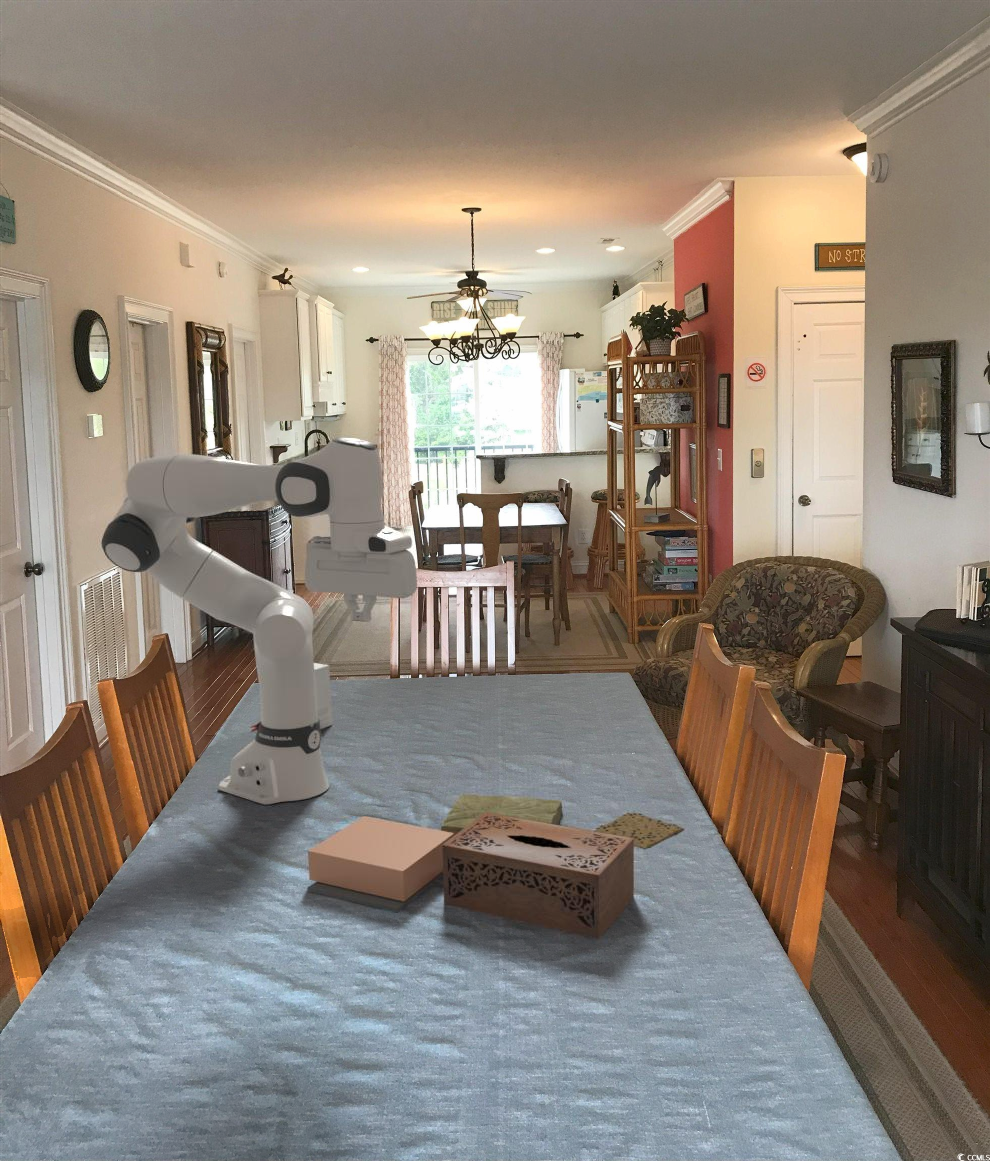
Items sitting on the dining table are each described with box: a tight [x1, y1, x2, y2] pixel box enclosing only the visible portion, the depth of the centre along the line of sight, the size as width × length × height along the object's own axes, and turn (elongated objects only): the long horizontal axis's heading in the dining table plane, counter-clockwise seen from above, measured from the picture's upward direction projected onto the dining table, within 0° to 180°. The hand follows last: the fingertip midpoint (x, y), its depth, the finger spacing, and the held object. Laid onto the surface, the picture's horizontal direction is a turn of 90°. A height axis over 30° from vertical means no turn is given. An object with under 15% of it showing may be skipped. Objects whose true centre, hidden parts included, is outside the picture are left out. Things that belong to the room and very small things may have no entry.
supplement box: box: [314, 662, 334, 730], centre depth 259 cm, size 9×9×15 cm
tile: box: [307, 815, 454, 901], centre depth 178 cm, size 5×16×18 cm
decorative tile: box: [440, 793, 564, 836], centre depth 198 cm, size 19×20×4 cm
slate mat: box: [307, 871, 443, 913], centre depth 179 cm, size 17×20×1 cm
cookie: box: [593, 811, 685, 850], centre depth 195 cm, size 12×12×1 cm
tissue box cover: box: [442, 812, 635, 940], centre depth 168 cm, size 26×14×10 cm, turn 63°
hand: (361, 620), depth 180 cm, fingers closed
